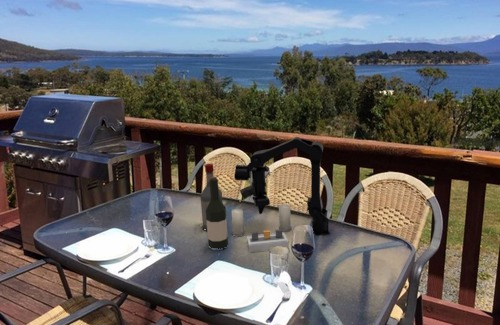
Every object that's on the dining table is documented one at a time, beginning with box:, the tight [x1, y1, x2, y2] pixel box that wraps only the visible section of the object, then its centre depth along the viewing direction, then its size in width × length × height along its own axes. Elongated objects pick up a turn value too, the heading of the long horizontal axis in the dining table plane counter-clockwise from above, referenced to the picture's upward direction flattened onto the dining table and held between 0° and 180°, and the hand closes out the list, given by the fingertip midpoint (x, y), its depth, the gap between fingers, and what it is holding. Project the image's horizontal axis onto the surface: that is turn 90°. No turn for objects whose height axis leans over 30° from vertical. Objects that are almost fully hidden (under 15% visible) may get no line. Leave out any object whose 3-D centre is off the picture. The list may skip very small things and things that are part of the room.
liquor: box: [200, 163, 224, 231], centre depth 191 cm, size 9×9×30 cm
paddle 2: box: [275, 228, 282, 238], centre depth 174 cm, size 2×1×3 cm, turn 98°
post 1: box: [231, 208, 246, 237], centre depth 186 cm, size 6×6×11 cm
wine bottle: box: [206, 176, 229, 249], centre depth 172 cm, size 8×8×30 cm
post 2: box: [278, 203, 293, 233], centre depth 188 cm, size 6×6×11 cm
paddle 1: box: [251, 230, 259, 240], centre depth 173 cm, size 2×1×3 cm, turn 97°
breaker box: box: [246, 232, 290, 253], centre depth 174 cm, size 16×9×3 cm, turn 97°
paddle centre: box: [263, 229, 271, 239], centre depth 173 cm, size 2×1×3 cm, turn 97°
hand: (260, 213), depth 189 cm, fingers closed
